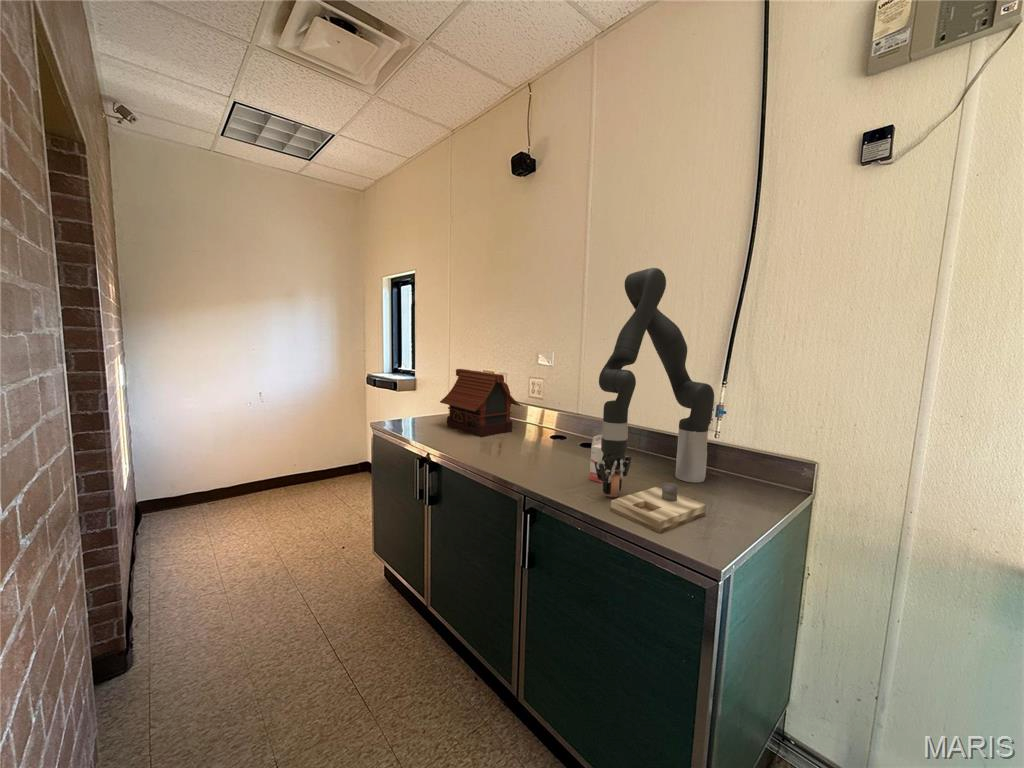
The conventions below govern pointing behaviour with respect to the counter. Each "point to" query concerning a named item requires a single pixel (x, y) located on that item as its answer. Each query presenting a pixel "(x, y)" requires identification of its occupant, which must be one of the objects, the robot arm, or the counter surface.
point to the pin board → (658, 508)
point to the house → (479, 403)
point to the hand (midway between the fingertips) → (612, 491)
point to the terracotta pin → (614, 485)
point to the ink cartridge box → (595, 457)
